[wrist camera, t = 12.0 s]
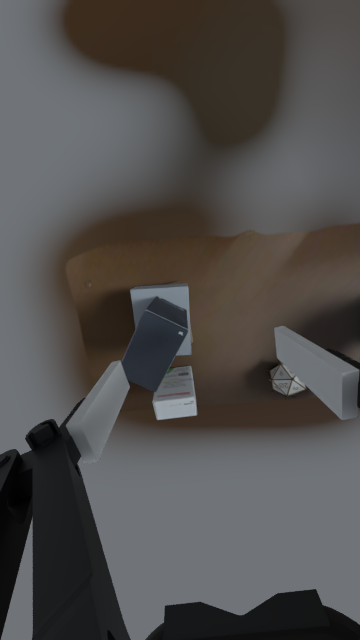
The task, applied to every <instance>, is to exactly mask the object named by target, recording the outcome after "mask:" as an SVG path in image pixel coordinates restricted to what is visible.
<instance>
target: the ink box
mask: <svg viewBox="0 0 360 640" xmlns="http://www.w3.org/2000/svg"><path fill="white" fill-rule="evenodd" d="M153 407H154V411H155V415H156V418H157V420H161V419H170V418H178V417H187V416H196V415H197V406H196V398H195V389H194V381H193V374H192V368H191V366H183V367H176V368H169V369H168V371H167V373H166V375H165V376H164V378H163V380H162V382H161V384H160V386H159V388H158V390H157V391H156V392H154V396H153Z"/></svg>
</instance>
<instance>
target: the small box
mask: <svg viewBox="0 0 360 640" xmlns="http://www.w3.org/2000/svg"><path fill="white" fill-rule="evenodd" d="M188 332H189V329H188V320H187V310H185V309H184V308H181V307H179V306H177V305H175V304H172V303H171V302H168V301H167V300H165V299H163V298H160V297H158V296H157V297H156V298H155V299H154V300H153V301H152V303H151V304H150V305H149V306H148V307H147V309H146V310H145V311H144V313H143V315H142V317H141V319H140V321H139V324H138V326H137V328H136V330H135V332H134V334H133V336H132V339H131V341H130V343H129V346H128V348H127V350H126V353H125V355H124V357H123V359H122V362H121V364H122V367H123V369H124V372H125V375H126V378H127V381H130V382H132V383H134V384H137V385H139V386H142V387H144V388H146V389H149V390H151V391H154V392H156V391H157V390H158V388H159V386H160V384H161V382H162V380H163V378H164V376H165V375H166V373H167V371H168V369H169V367H170V366H171V364H172V362H173V360H174V358H175V356H176V354H177V352H178V351H179V349H180V347H181V345H182V343H183V341H184V339H185V337H186V335H187V334H188Z"/></svg>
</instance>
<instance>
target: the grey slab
mask: <svg viewBox="0 0 360 640" xmlns="http://www.w3.org/2000/svg"><path fill="white" fill-rule="evenodd" d="M130 292H131V299H132V307H133V314H134V322H135V329H136V328H137V326H138V324H139V321H140V319H141V317H142V315H143V313H144V311H145V310H146V309H147V307H148V306H149V305H150V304H151V303H152V301H153V300H154V299H155V298H156V297H157V296H158V297H160V298H163V299H165V300H167V301H168V302H171V303H172V304H175V305H177V306H179V307H181V308H184V309H185V310H187V320H188V329H189V332H188V334H187V335H186V337H185V339H184V341H183V343H182V345H181V347H180V349H179V351H178V352H177V354H176V356H177V355H191V336H190V314H189V293H188V285H187V284H171V285H154V286H138V287H135V288H133V289H131V290H130Z"/></svg>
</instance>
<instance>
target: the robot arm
mask: <svg viewBox="0 0 360 640" xmlns="http://www.w3.org/2000/svg"><path fill="white" fill-rule="evenodd" d="M274 332H275V342H276V352H277V358H278V359H279V360H280V361H281V362H282V363H283V364H284V365H285V366H286V367H287V368H288V369H289V370H290V371H291V372H292V373H293V374H294V375H296V376H297V377H298V378H299V379H300V380H301V381H302V382H303V383H304V384H305V385H306V386H307V387H308V388H309V389H310V390H311V391H312V392H313V393H314V394H315V395H316V396H317V397H318V398H320V399H321V400H322V401H323V402H324V403H325V404H326V405H327V406H328V407H329V408H330V409H331V410H332V411H333V412H334V413H335V414H336V415H337V416H338V417H339V418H340V419H341V420H345V419H350V418H356V417H358V408H360V363H359V362H357V361H355V360H353V359H351V358H350V357H347V356H346V355H344V354H342V353H340V352H338V351H335V350H332V349H325V350H324V349H323V348H321V347H319V346H317V345H316V344H314V343H312V342H311V341H309V340H307V339H305V338H304V337H302V336H300V335H299V334H297V333H295V332H293V331H292V330H290V329H288V328H287V327H285V326H280V327H276V328H274ZM129 388H130V386H129V383H128V381H127V378H126V375H125V372H124V369H123V367H122V364H121V361H115V362H112V363H111V364H110V365H109V367H108V368H107V369H106V371H105V372H104V374H103V375H102V376H101V378H100V379H99V380H98V382H97V383H96V385H95V386H94V387H93V389H92V390H91V391H90V393H89V394H88V395H87V397H86V398H83V399H82V400H81V401H80V402H79V403H77V405H76V406H75V407H74V409H73V411H71V413H70V414H69V416H68V417H67V418H66V419H65V421H64V422H63V423H62V424H61V426H60V427H58V426H57V424H56V422H55V420H54V419H50V420H46V421H44V422H42V423H40V424H38V425H37V426H35V427H34V428H33V429H32V430H31V431H29V433H28V434H27V435H26V438H25V439H26V441H27V443H28V444H29V446H30V448H31V449H32V450H31V451H29V452H27V453H24V454H22V455H20V454H19V452H18V451H17V450H16V449H13V450H9V451H6V452H5V453H3V454H1V455H0V640H1V636H2V632H3V628H4V624H5V621H6V617H7V613H8V609H9V605H10V601H11V598H12V593H13V590H14V586H15V582H16V578H17V574H18V570H19V567H20V563H21V558H22V555H23V551H24V547H25V543H26V540H27V535H28V532H29V528H30V524H31V520H32V516H33V637H32V640H131V639H130V637H129V635H128V632H127V629H126V627H125V624H124V621H123V618H122V614H121V611H120V607H119V604H118V600H117V597H116V593H115V590H114V587H113V583H112V579H111V576H110V572H109V569H108V566H107V562H106V559H105V555H104V552H103V548H102V545H101V541H100V538H99V534H98V531H97V527H96V524H95V520H94V517H93V513H92V510H91V506H90V503H89V500H88V496H87V493H86V489H85V486H84V482H83V478H82V475H81V472H80V468H79V466H78V464H77V463H78V461H79V459H80V457H82V459H83V461H84V463H85V464H88V463H94V462H98V460H99V458H100V456H101V453H102V451H103V449H104V446H105V444H106V442H107V439H108V437H109V435H110V432H111V430H112V428H113V425H114V423H115V421H116V418H117V416H118V414H119V411H120V409H121V407H122V404H123V402H124V400H125V397H126V395H127V393H128V390H129ZM145 640H360V625H359V624H358V623H357V622H355V621H353V620H352V619H350V618H349V617H347V616H346V615H344V614H342V613H340V612H338V611H336V610H334V609H332V608H330V607H326V606H324V605H322V603H321V600H320V598H319V595H318V593H317V591H316V589H313V590H304V591H295V592H286V593H278V594H276V595H274V596H273V597H271V598H270V599H268V600H266V601H265V602H263V603H262V604H260V605H259V606H257V607H256V608H254V609H252V610H251V611H249V612H248V613H246V614H245V615H236V614H233V613H230V612H227V611H224V610H222V609H219V608H216V607H213V606H210V605H207V604H204V603H202V602H195V603H186V604H176V605H167V606H165V616H164V623H162V624H161V625H160V626H158V627H157V628H156V629H155V630H154V631H153V632H152V633H151V634H150V635H149V636H148V637H147V638H146V639H145Z"/></svg>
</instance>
